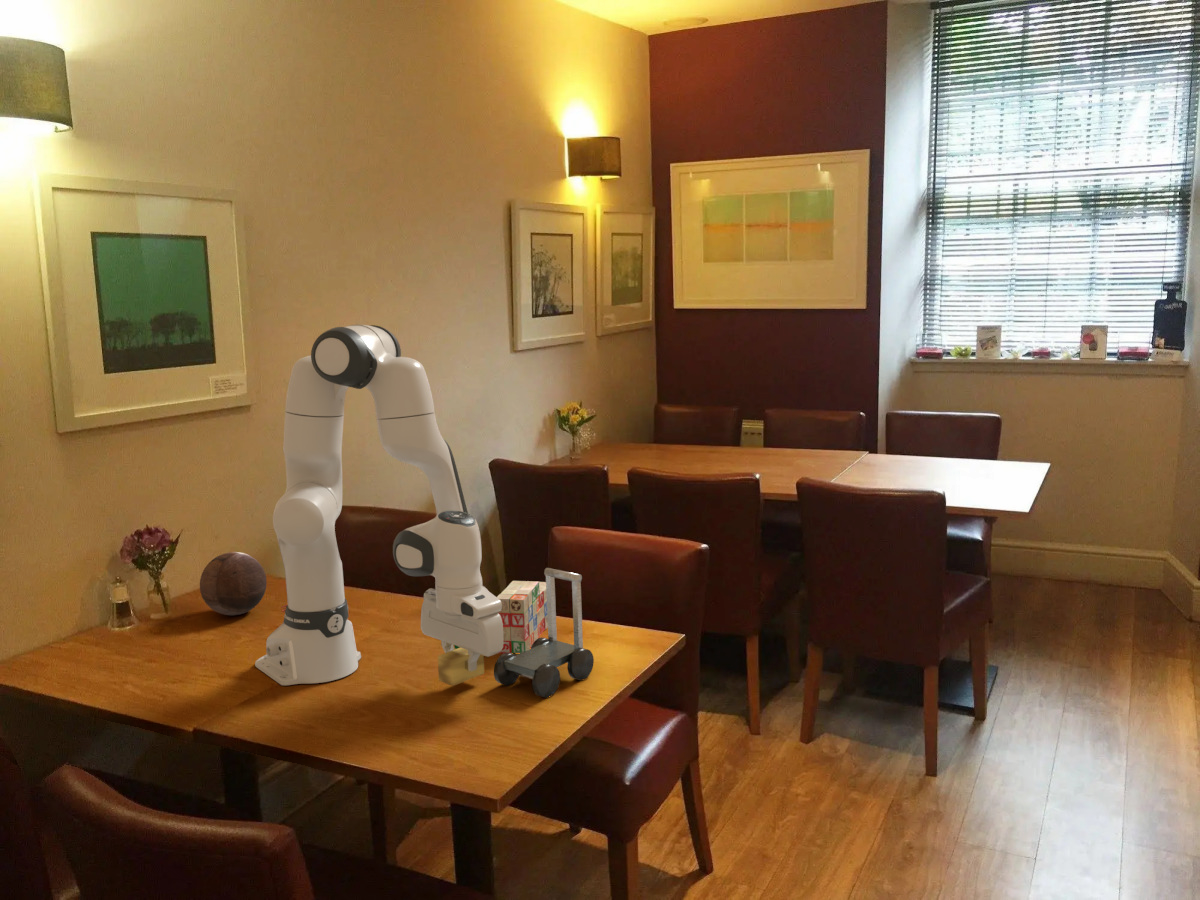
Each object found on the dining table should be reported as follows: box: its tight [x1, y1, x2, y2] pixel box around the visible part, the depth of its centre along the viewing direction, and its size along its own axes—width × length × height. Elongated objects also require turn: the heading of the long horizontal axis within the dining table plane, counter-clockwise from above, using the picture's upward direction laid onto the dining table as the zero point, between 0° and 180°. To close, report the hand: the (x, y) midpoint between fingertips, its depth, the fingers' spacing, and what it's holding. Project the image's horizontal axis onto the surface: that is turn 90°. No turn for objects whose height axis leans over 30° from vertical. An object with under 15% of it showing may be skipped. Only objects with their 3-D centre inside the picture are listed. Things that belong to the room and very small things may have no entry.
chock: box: [437, 647, 485, 687], centre depth 192 cm, size 4×8×5 cm, turn 139°
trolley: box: [493, 567, 595, 699], centre depth 193 cm, size 16×12×20 cm
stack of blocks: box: [496, 580, 548, 654], centre depth 219 cm, size 21×6×12 cm, turn 167°
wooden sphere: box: [199, 551, 268, 616], centre depth 240 cm, size 15×15×15 cm
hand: (461, 666), depth 192 cm, fingers closed on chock, 4 cm apart
